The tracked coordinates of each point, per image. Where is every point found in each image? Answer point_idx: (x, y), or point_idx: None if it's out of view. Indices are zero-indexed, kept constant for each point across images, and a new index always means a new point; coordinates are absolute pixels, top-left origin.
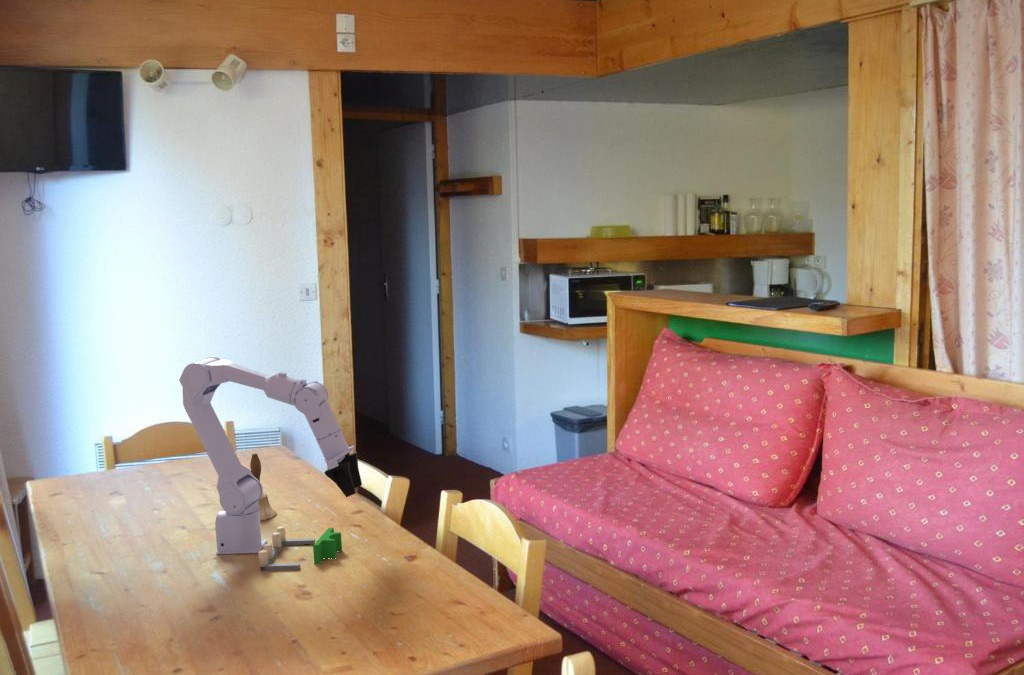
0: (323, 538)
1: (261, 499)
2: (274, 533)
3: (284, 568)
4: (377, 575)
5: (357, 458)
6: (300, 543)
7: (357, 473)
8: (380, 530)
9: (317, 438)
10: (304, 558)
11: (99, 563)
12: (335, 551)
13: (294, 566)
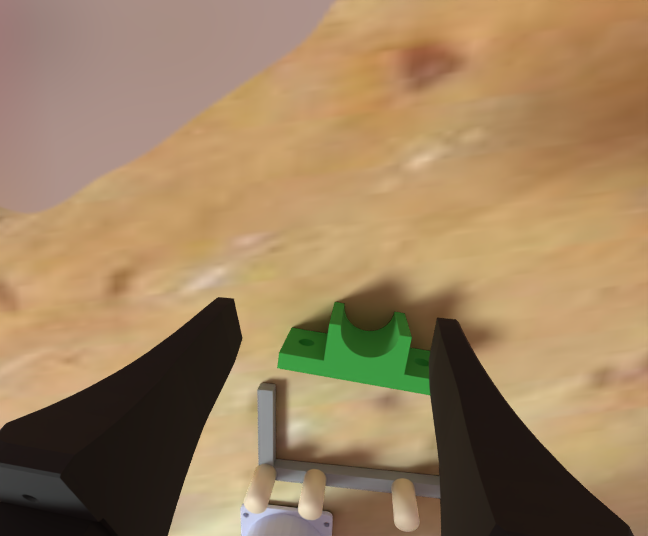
0: (384, 373)
1: None
2: (305, 514)
3: None
4: (573, 165)
5: (54, 412)
6: (275, 421)
7: (191, 352)
8: (162, 205)
9: None
10: (382, 396)
11: None
12: (398, 320)
13: None
